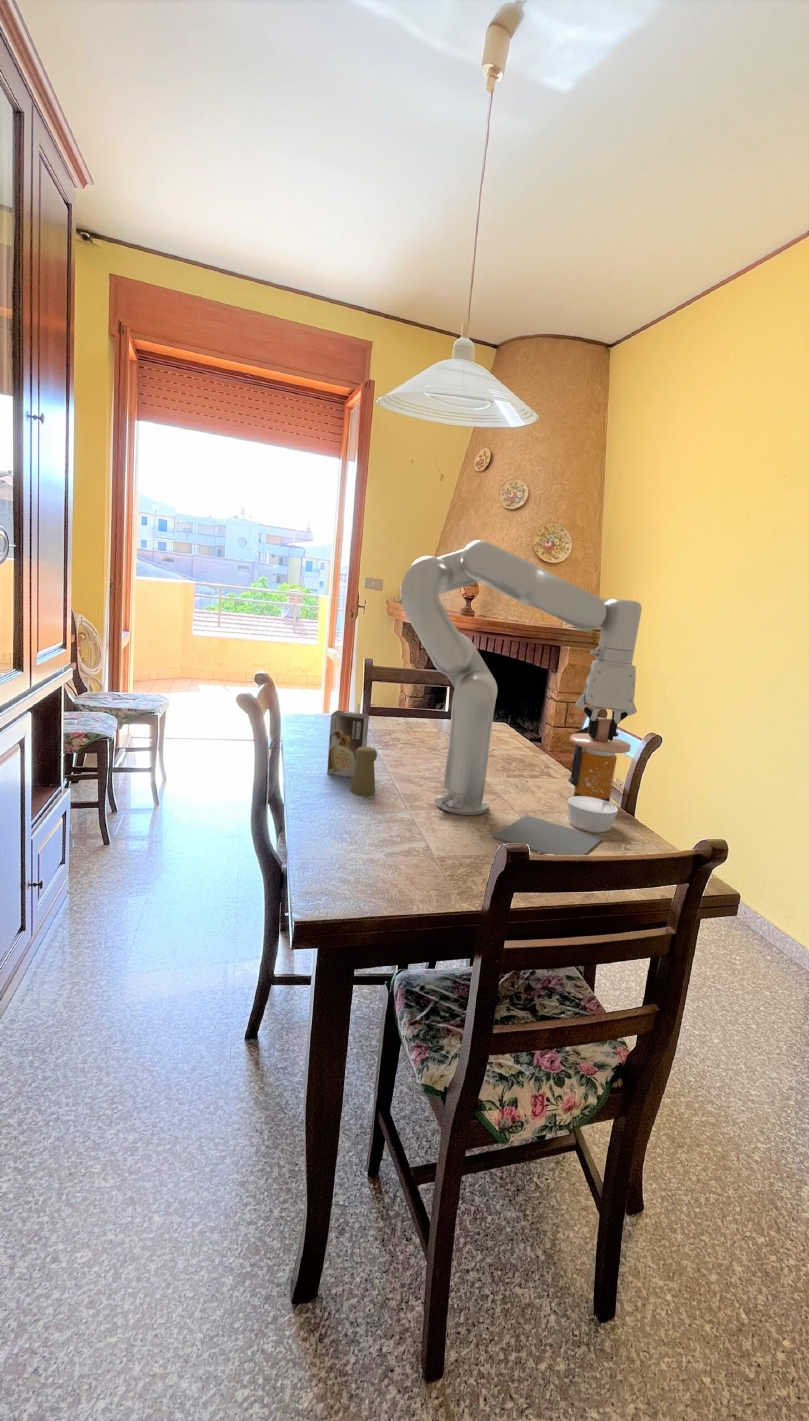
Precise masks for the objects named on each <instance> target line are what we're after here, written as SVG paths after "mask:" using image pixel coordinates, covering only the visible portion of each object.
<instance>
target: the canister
mask: <svg viewBox="0 0 809 1421" xmlns="http://www.w3.org/2000/svg"><path fill="white" fill-rule="evenodd" d="M587 730H588V726H586V727H584V728H581V729H580V730H578V731H576V732H574V734H577V733H587ZM587 734H588V733H587ZM618 736H619V733H618V732H617V731H616V736H615V737H614V738H616V737H618ZM573 755H574V756H573V762H572V767H571V773H570V774H571V775H570V777H569V778H568V780H567V781H568V782H569V784H571V785H572V786H574V791H573V797H574V796H586V797H593V798H598V799H601V800H604V801H607V802H610V800H611V795H612V788H613V782H614V777H615V771H616V765H617V760H618V759H617V758H618V757H617V756H616V753H609V752H601V751H596V750H591V749H587V748H583V747H580V746H578V745H574V754H573Z"/></svg>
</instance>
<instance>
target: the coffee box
mask: <svg viewBox="0 0 809 1421" xmlns="http://www.w3.org/2000/svg"><path fill="white" fill-rule="evenodd" d="M369 718H370V714H368V713H359V712H353V711H347V710H345V711H344V710H335V711H334V712H333V713H331V715H330V723H329V724H330V726H329V727H330V728H329V741H328V753H327V754H328V756H327V759H328V760H327V773H326V774H327V775H332V774H334V775H335V776H339V775H342V776H341V777H346V776H349V777H348V778H353V777H354V772H355V768H356V763H357V759H356V756H355V753H356V750H357V749H358V748H359V747H368V746H367V745H368V732H369V721H370V720H369ZM334 775H333V776H334Z"/></svg>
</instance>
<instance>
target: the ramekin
mask: <svg viewBox="0 0 809 1421" xmlns="http://www.w3.org/2000/svg"><path fill="white" fill-rule="evenodd" d="M566 803H567V813H568V814H567V818H568V821H569V823H570V824H571V825H572V826H573V827H575V828H577V829H578V830H579V829H580V830H582V831H584V832H589V833H590V832H591V833H597V834H599V833H600V834H601V832H602V833H606V831H607V832H608V831H609V830H611V829H612V827H613V825H614V822H615V819H616V817H617V815H618V814H619V809H618V807H617V806H616V805H615V804H613V803H612V802H610V801H609V802H607V801H604V800H601V799H598V798H593V797H586V796H574V795H573V796H571V797H568V799H567V802H566Z"/></svg>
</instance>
